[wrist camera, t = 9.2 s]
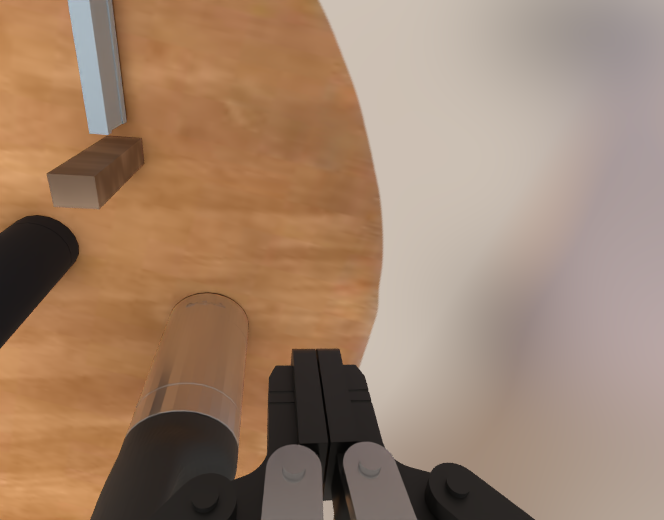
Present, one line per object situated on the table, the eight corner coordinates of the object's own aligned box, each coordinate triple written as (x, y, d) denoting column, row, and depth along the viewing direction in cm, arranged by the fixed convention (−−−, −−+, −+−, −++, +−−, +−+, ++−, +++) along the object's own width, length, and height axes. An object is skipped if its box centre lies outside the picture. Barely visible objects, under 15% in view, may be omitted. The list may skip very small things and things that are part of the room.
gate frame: (145, 163, 41) (96, 213, 30) (109, 161, 40) (46, 210, 29) (116, -117, 31) (28, -200, 20) (69, -125, 31) (-48, -214, 19)
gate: (129, 121, 38) (108, 134, 34) (112, 120, 38) (89, 133, 33) (106, -70, 32) (76, -88, 27) (86, -73, 32) (52, -91, 27)
